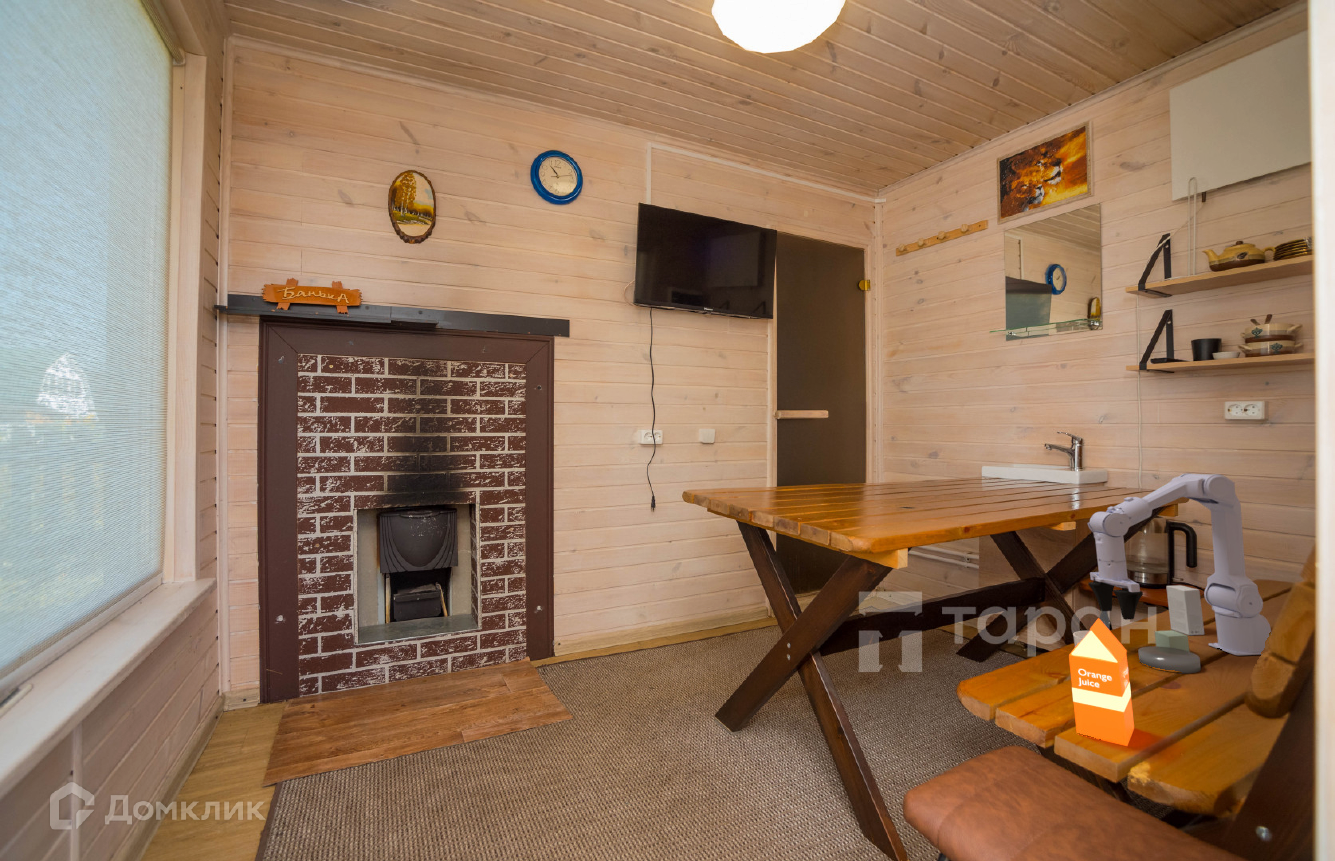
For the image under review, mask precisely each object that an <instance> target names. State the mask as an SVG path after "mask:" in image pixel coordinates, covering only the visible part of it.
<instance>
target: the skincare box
mask: <svg viewBox="0 0 1335 861" xmlns="http://www.w3.org/2000/svg"><path fill="white" fill-rule="evenodd" d="M1200 593H1201V592H1200V589H1197V588H1193V587H1189V586H1185V585H1166V594H1167V596H1166V597H1167V604H1168V613H1169V622H1170V630H1173V631H1176V632H1179V633H1182V634H1184V635H1187V636H1200V635H1201V636H1202V635H1205V628H1204V618H1203V610H1202V609H1203V608H1202V603H1201V594H1200Z"/></svg>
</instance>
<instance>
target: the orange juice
mask: <svg viewBox="0 0 1335 861" xmlns="http://www.w3.org/2000/svg"><path fill="white" fill-rule="evenodd" d="M1089 631H1090V632H1089V633H1087V634H1088V635H1087V634H1086V635H1087V636H1086V637H1085V638H1084V639H1082V640H1081V643H1078V644H1077V646H1076V647H1075V646H1074V648H1073V649H1072V651H1071V652H1070V653H1069V655H1068V660H1069V661H1068V662H1069V669H1070V679H1071V680H1070V681H1071V692H1072V702H1073V708H1074V720H1075V729H1076V734H1077V733H1080V734H1083V735H1088V736H1091V737H1094V738H1093V739H1095V738H1096V740H1099V739H1101V740H1100V741H1103V742H1108V743H1113V744H1117V745H1121V746H1125V747H1128V745H1129V742H1130V740H1131V737H1132V735H1133V732H1134V729H1135V724H1134V712H1133V703H1132V694H1131V693H1132V692H1131V683H1130V674H1129V665H1128V659H1127V658H1128V657H1127V656H1128V654H1127V652H1128V650H1127V649H1126V648H1125V647H1124V646H1123V644H1122V643H1121V642H1120V641H1119V640H1118V639H1117V637H1116V636H1115V635H1114V634H1113V633H1112V632H1111V630H1110V629H1109V628H1108V627H1107V626H1106V625H1105V623H1104V622H1103V621H1102V620H1101V619H1100V618H1099V617H1098V618H1097V619H1096V621H1095V622H1094V623H1093V624H1092V625H1091V626H1090V628H1089ZM1115 637H1116V638H1115ZM1083 735H1082V736H1083ZM1091 737H1090V738H1091Z"/></svg>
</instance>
